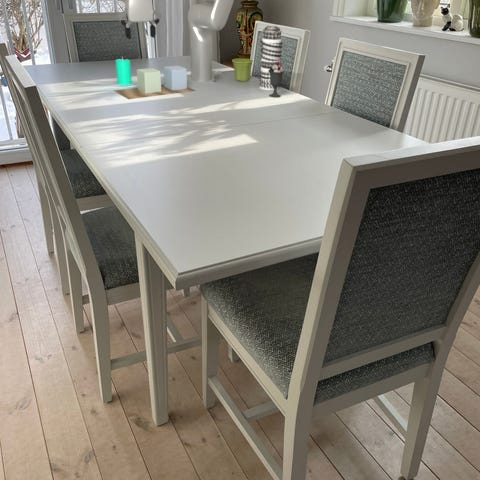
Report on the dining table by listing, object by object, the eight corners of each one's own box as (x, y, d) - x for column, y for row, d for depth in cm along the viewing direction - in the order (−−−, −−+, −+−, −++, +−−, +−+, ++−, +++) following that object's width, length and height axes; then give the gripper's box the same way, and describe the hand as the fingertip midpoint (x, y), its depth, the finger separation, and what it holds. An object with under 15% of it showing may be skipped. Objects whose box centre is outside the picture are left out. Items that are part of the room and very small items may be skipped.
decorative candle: (276, 91, 219) (280, 29, 207) (255, 89, 222) (258, 27, 209) (281, 87, 227) (286, 26, 214) (262, 84, 229) (265, 24, 217)
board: (178, 85, 223) (178, 81, 222) (196, 93, 212) (196, 89, 211) (113, 93, 208) (113, 89, 207) (128, 101, 197) (128, 97, 196)
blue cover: (178, 84, 219) (178, 65, 215) (186, 88, 215) (186, 68, 211) (164, 86, 216) (163, 66, 212) (172, 90, 211) (171, 70, 207)
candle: (130, 87, 216) (128, 58, 210) (116, 87, 216) (113, 57, 210) (133, 84, 222) (131, 55, 216) (119, 83, 221) (116, 54, 216)
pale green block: (153, 87, 213) (152, 67, 209) (161, 91, 208) (160, 71, 204) (137, 89, 210) (136, 69, 206) (145, 93, 205) (144, 72, 201)
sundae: (284, 95, 215) (287, 57, 207) (280, 98, 209) (283, 60, 202) (269, 93, 216) (271, 56, 209) (264, 96, 211) (267, 58, 203)
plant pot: (237, 83, 230) (238, 63, 226) (228, 78, 238) (228, 59, 233) (255, 81, 234) (256, 61, 230) (245, 77, 242) (246, 57, 237)
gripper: (156, -12, 197) (158, 35, 205) (112, -12, 189) (116, 37, 198) (163, -11, 191) (165, 38, 200) (118, -10, 184) (122, 40, 192)
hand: (141, 37), depth 199 cm, fingers open, 9 cm apart
